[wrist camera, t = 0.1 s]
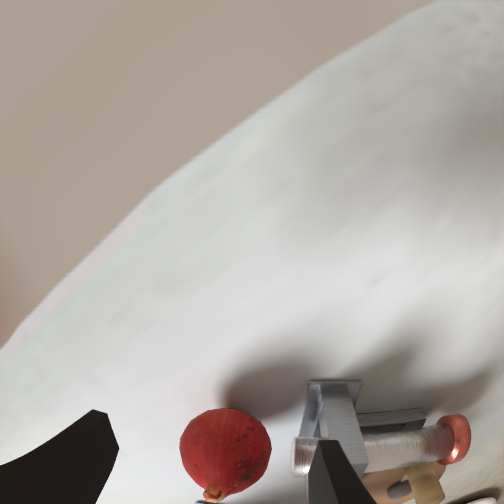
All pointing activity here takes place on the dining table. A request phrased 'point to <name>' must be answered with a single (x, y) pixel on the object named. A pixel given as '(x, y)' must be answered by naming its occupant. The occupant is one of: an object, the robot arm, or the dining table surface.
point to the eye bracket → (349, 420)
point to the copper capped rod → (398, 447)
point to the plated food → (484, 501)
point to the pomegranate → (225, 452)
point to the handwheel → (406, 484)
